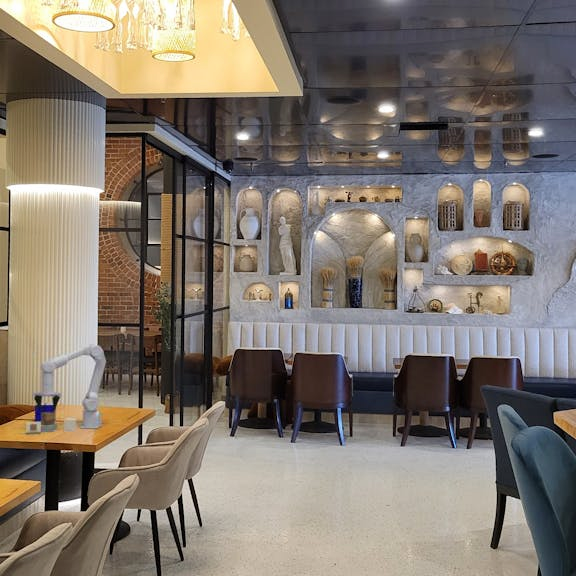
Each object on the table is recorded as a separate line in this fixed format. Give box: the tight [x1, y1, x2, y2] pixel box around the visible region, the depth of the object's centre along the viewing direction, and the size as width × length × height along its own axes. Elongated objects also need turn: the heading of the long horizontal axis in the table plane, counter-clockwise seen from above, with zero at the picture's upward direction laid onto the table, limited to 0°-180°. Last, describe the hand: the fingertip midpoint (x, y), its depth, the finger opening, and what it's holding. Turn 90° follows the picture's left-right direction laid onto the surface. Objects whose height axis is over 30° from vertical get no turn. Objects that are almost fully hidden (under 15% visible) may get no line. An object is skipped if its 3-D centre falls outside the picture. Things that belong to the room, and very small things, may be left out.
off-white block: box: [63, 417, 77, 432], centre depth 387 cm, size 5×5×6 cm
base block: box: [41, 423, 58, 433], centre depth 386 cm, size 8×8×4 cm
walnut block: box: [41, 412, 56, 426], centre depth 386 cm, size 5×5×6 cm
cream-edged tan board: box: [25, 421, 42, 435], centre depth 377 cm, size 7×4×6 cm, turn 107°
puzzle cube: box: [34, 401, 57, 422], centre depth 412 cm, size 10×10×10 cm
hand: (47, 410), depth 386 cm, fingers open, 7 cm apart
